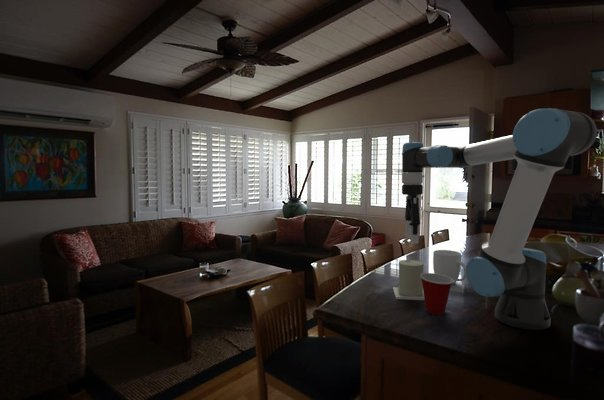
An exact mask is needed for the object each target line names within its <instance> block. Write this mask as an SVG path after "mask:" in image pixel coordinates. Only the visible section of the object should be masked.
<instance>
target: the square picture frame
mask: <svg viewBox="0 0 604 400" xmlns="http://www.w3.org/2000/svg"><path fill="white" fill-rule="evenodd" d="M398 289H399V286H396V287H395V286H393V287H392V291H393V294H394V297H395V300H406V301H407V300H409V301H425V300H424V292H423V294H422V295H420V296H407V295H403V294H400V293H399V292H398Z"/></svg>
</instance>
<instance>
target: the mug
mask: <svg viewBox="0 0 604 400" xmlns="http://www.w3.org/2000/svg"><path fill="white" fill-rule="evenodd" d="M432 255H433V257H432V262H433V263H432V265H433V266H432V267H433V268H432V269H433V273H434V274H440V275H444V276H448V277H450V278H452V279H453V280H454V283H453V285H455V284H456V283H457V282H463V281H465V280H467V277H466V272H465V269H466V265H467V264H465V262H464V261H462V253H461V252H459V251H455V250H450V249H436V250H433V254H432ZM461 267H462V268H463V272H464V273H463V277H462V278H459V277H460V273H461V269H462V268H461Z"/></svg>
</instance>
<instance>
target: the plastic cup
mask: <svg viewBox="0 0 604 400" xmlns="http://www.w3.org/2000/svg"><path fill="white" fill-rule="evenodd" d="M420 277H421V279H422V285H423V292H424V300H423V301H424V303H425V304H424V305H425V310H426V312H427V313H429V314H432V315H436V316H439V315H440V316H441V315H444V314H445V313H446V308H447V305H448V300H449V297H450V296H449V295H450V290H451V289H452V288H451V287H452V286H453V285H454V284H453V283H454V280H453V279H452V278H450V277H448V276H444V275H440V274H434V272H425V273H424V272H423V274H421V275H420ZM452 284H453V285H452Z"/></svg>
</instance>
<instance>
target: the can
mask: <svg viewBox="0 0 604 400" xmlns="http://www.w3.org/2000/svg"><path fill="white" fill-rule="evenodd" d="M424 265H425V264H424V262H422V261H421V260H414V259H402V260H399V261H398V287H399V289H398V292H399V293H400V294H403V295H407V296H420V295H422V294H423V285H422V279H421V277H420V275H421V274H423V273H424Z"/></svg>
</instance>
